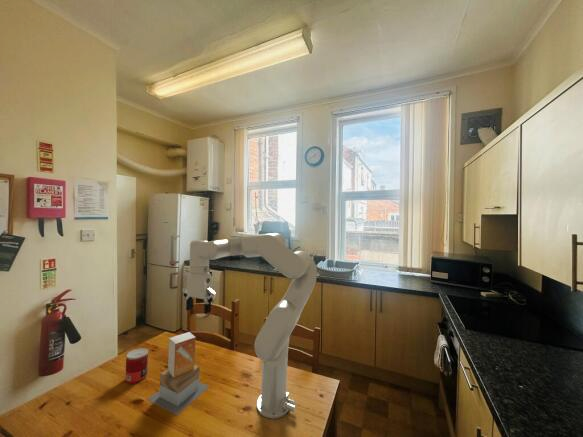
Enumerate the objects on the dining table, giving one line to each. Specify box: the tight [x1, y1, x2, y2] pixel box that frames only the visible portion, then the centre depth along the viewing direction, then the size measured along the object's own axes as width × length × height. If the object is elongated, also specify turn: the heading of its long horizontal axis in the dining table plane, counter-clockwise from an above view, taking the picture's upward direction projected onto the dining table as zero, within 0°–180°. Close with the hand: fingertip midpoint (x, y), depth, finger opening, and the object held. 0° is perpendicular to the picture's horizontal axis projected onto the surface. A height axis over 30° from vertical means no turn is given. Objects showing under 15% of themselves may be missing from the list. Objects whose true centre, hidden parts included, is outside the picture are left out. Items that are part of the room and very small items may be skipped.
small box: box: [167, 331, 197, 378], centre depth 93 cm, size 8×6×13 cm
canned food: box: [124, 347, 149, 385], centre depth 101 cm, size 8×8×11 cm
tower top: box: [159, 364, 200, 394], centre depth 93 cm, size 10×10×4 cm
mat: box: [146, 381, 210, 416], centre depth 93 cm, size 16×16×1 cm
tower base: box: [159, 377, 200, 406], centre depth 93 cm, size 10×10×4 cm
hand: (198, 310), depth 98 cm, fingers open, 9 cm apart
